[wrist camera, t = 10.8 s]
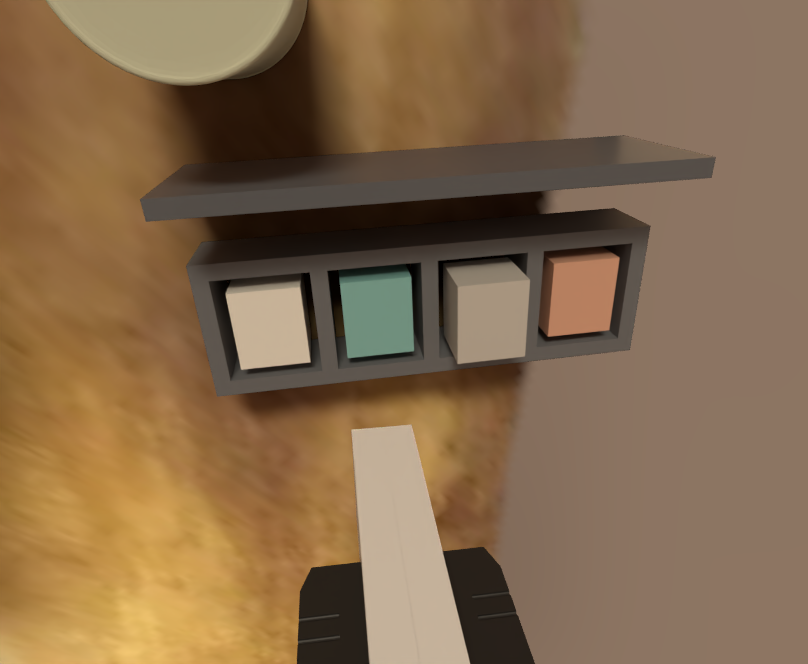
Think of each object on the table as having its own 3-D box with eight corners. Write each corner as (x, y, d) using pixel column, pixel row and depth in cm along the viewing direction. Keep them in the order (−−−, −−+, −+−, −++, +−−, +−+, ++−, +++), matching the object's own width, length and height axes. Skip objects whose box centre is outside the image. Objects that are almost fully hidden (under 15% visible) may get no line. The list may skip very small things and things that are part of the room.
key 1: (248, 339, 36) (241, 369, 33) (234, 270, 34) (225, 294, 31) (311, 333, 37) (310, 362, 33) (301, 264, 35) (300, 287, 31)
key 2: (344, 330, 37) (347, 358, 34) (337, 261, 35) (340, 283, 31) (405, 323, 38) (414, 351, 34) (401, 255, 35) (411, 277, 32)
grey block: (443, 334, 36) (457, 363, 32) (443, 263, 34) (457, 286, 30) (504, 328, 36) (525, 356, 33) (508, 257, 34) (530, 279, 31)
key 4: (526, 311, 39) (547, 336, 35) (531, 244, 36) (554, 263, 33) (582, 305, 39) (609, 330, 36) (590, 238, 37) (619, 257, 33)
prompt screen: (189, 186, 32) (147, 227, 24) (184, 164, 32) (139, 199, 24) (621, 155, 35) (710, 182, 27) (623, 135, 35) (715, 157, 27)
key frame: (227, 361, 38) (217, 396, 34) (201, 242, 34) (186, 266, 30) (599, 321, 41) (629, 350, 37) (614, 208, 37) (650, 226, 33)
